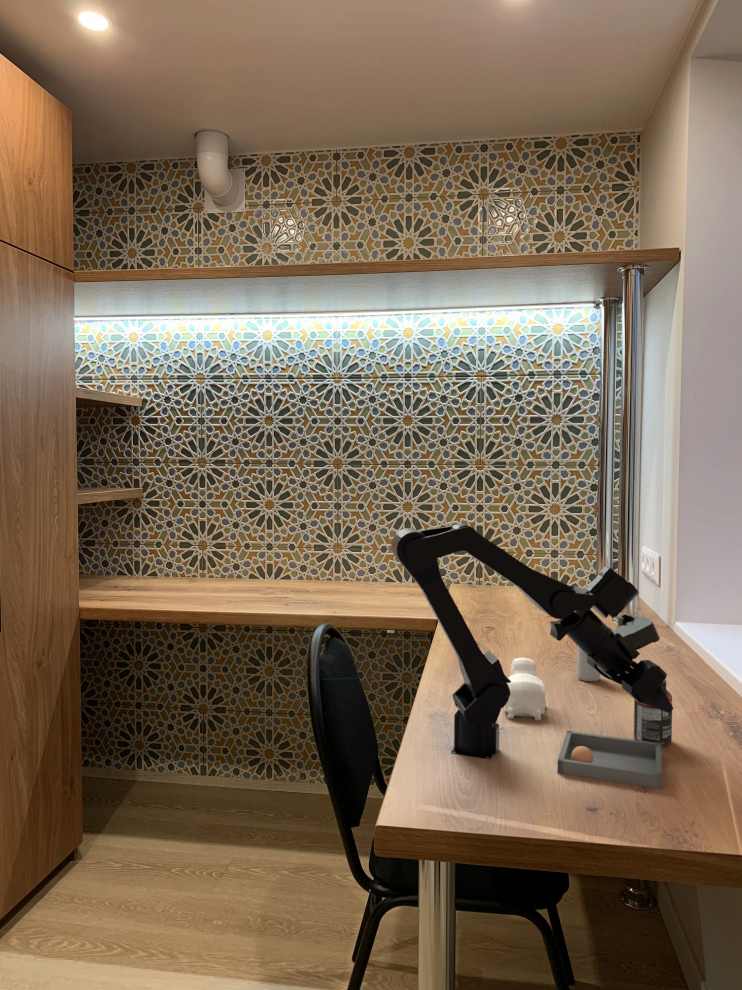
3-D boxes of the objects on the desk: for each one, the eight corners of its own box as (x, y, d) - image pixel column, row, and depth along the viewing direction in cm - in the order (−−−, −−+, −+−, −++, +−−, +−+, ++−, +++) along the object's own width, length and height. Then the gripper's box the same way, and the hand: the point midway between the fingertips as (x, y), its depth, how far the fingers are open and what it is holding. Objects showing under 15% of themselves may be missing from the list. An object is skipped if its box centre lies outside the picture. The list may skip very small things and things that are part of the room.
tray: (557, 776, 110) (557, 760, 110) (566, 745, 121) (567, 730, 121) (661, 792, 104) (661, 775, 104) (660, 758, 116) (661, 743, 116)
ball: (570, 769, 111) (570, 749, 110) (572, 761, 114) (572, 741, 113) (592, 773, 110) (592, 752, 109) (593, 764, 112) (594, 744, 112)
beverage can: (584, 674, 161) (585, 620, 160) (604, 678, 157) (605, 624, 157) (572, 678, 157) (573, 624, 157) (593, 683, 154) (594, 627, 153)
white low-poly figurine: (547, 737, 133) (544, 684, 146) (549, 701, 129) (546, 649, 142) (500, 734, 134) (501, 681, 148) (500, 698, 131) (501, 647, 144)
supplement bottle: (640, 734, 126) (641, 670, 125) (676, 743, 122) (677, 677, 122) (628, 745, 122) (629, 678, 121) (664, 754, 118) (666, 686, 117)
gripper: (655, 615, 111) (722, 683, 112) (604, 592, 129) (662, 651, 131) (604, 667, 110) (672, 735, 112) (561, 637, 129) (620, 695, 131)
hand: (657, 700), depth 122 cm, fingers open, 9 cm apart
